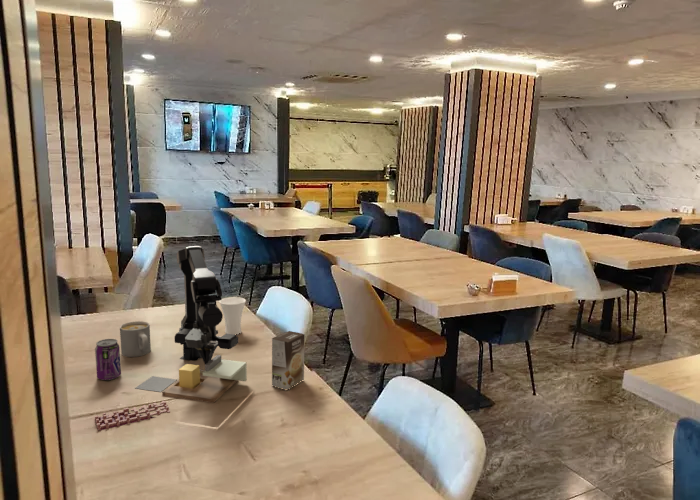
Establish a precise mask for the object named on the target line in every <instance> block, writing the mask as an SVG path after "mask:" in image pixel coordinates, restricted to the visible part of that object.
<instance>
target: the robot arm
mask: <svg viewBox="0 0 700 500" xmlns="http://www.w3.org/2000/svg"><path fill="white" fill-rule="evenodd" d="M205 257H206V256H205V249H204V248H203V247H202V246H201V245H194V246H193V245H191V246H189V245H188V246H187V247H184V248H182V249H180V250H178V251H177V253H176V262H177V265H178V267H179V269H180V270H181V272H182V273H183V282H184V308H185V309H184V313H185V315H184V316H183V318H182V319H181V321H180V327H179V329H178V332H175V335H174V343H175V344H180V345H181V346H183V347H182V353H183V354H182V356H181V357H179V360H184V361H193V362H196V361H198V360H201V359H202V361H203V363H204V365H205V364H206V363H208V362H209V361H210V360H212V359H213V356H214V353H215V352H216V349H217V348H219V349H224V350H231V349H233V348H234V347H236V345H237V344H239V337H238V334H237V335H235V334H227V333H226V334H223V335H222V336H219V335H218V334H219V330H218V329H217V326H219V324H221V322H222V321H223V318H224V314H223V311H222V309H220V308H219V306H218V305H217V301H220V300H221V299H222V296H223V291H222V286H221V282H220V280H219V278H217V276H216V275H215V273H214V272H213V271H211V270H209V268H208V267H207V264H206V261H205V260H206V259H205Z"/></svg>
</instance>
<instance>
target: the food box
mask: <svg viewBox="0 0 700 500" xmlns="http://www.w3.org/2000/svg"><path fill="white" fill-rule="evenodd" d="M302 380H304V381H305V334H304V333H301V332H298V331H291V330H289V331H286V332H284V333H282V334H279V335H276V336H274V337H272V338H271V386H272V385H273V386H276V387H279V388H283V389H289V388H291V387H292V386H294V385H296V384H297V383H299V382H300V381H302ZM299 384H300V383H299ZM273 386H272V387H273ZM296 386H297V385H296ZM276 387H275V388H276ZM294 387H295V386H294ZM279 388H278V389H279ZM291 389H292V388H291ZM289 390H290V389H289Z"/></svg>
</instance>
